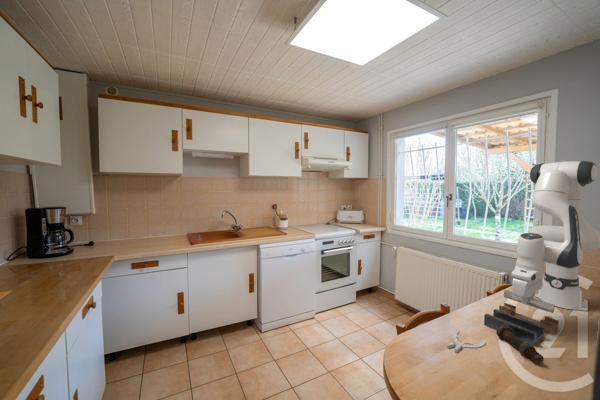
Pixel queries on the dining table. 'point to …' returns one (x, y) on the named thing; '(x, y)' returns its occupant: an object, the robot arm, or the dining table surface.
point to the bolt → (519, 344)
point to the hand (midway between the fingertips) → (527, 302)
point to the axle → (531, 302)
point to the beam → (548, 323)
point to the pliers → (459, 345)
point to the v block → (516, 326)
